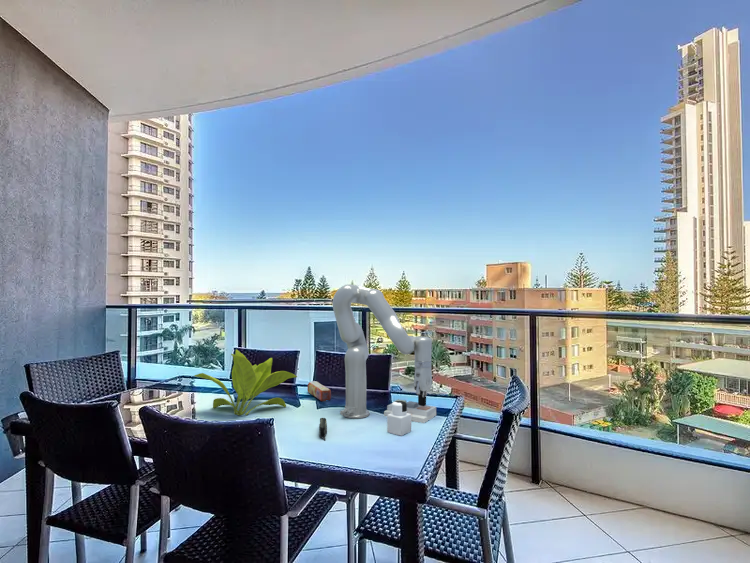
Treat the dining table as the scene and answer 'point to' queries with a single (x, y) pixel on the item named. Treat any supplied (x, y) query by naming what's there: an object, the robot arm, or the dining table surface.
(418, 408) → the terracotta key
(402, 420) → the medicine bottle
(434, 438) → the dining table surface
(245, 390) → the artificial plant
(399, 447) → the dining table surface
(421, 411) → the white shallow tray
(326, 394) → the snack package
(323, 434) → the mobile phone
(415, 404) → the slate key
